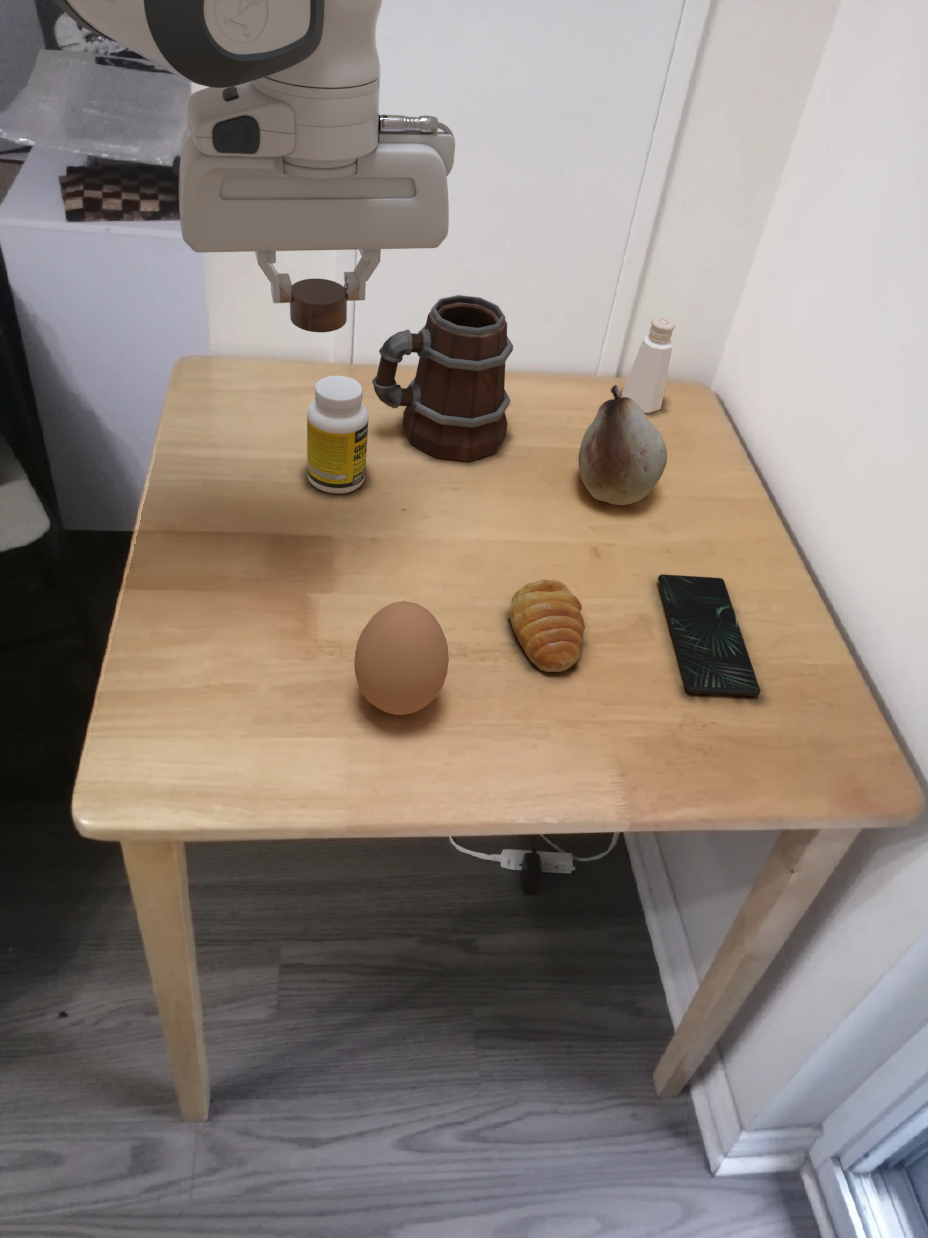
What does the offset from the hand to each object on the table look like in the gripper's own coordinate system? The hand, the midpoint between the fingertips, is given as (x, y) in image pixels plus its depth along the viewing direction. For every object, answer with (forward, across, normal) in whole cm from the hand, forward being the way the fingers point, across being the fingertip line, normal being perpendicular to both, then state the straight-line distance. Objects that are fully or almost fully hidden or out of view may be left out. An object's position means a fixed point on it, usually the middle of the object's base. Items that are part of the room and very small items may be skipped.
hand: (317, 298), depth 76 cm
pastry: (+25, -18, +17) cm, 36 cm away
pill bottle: (+25, -3, -9) cm, 27 cm away
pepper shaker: (+26, -44, -20) cm, 55 cm away
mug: (+25, -16, -16) cm, 34 cm away
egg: (+25, -3, +22) cm, 34 cm away
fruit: (+26, -33, -3) cm, 42 cm away
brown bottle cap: (+2, 0, 0) cm, 2 cm away
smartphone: (+26, -34, +20) cm, 46 cm away
